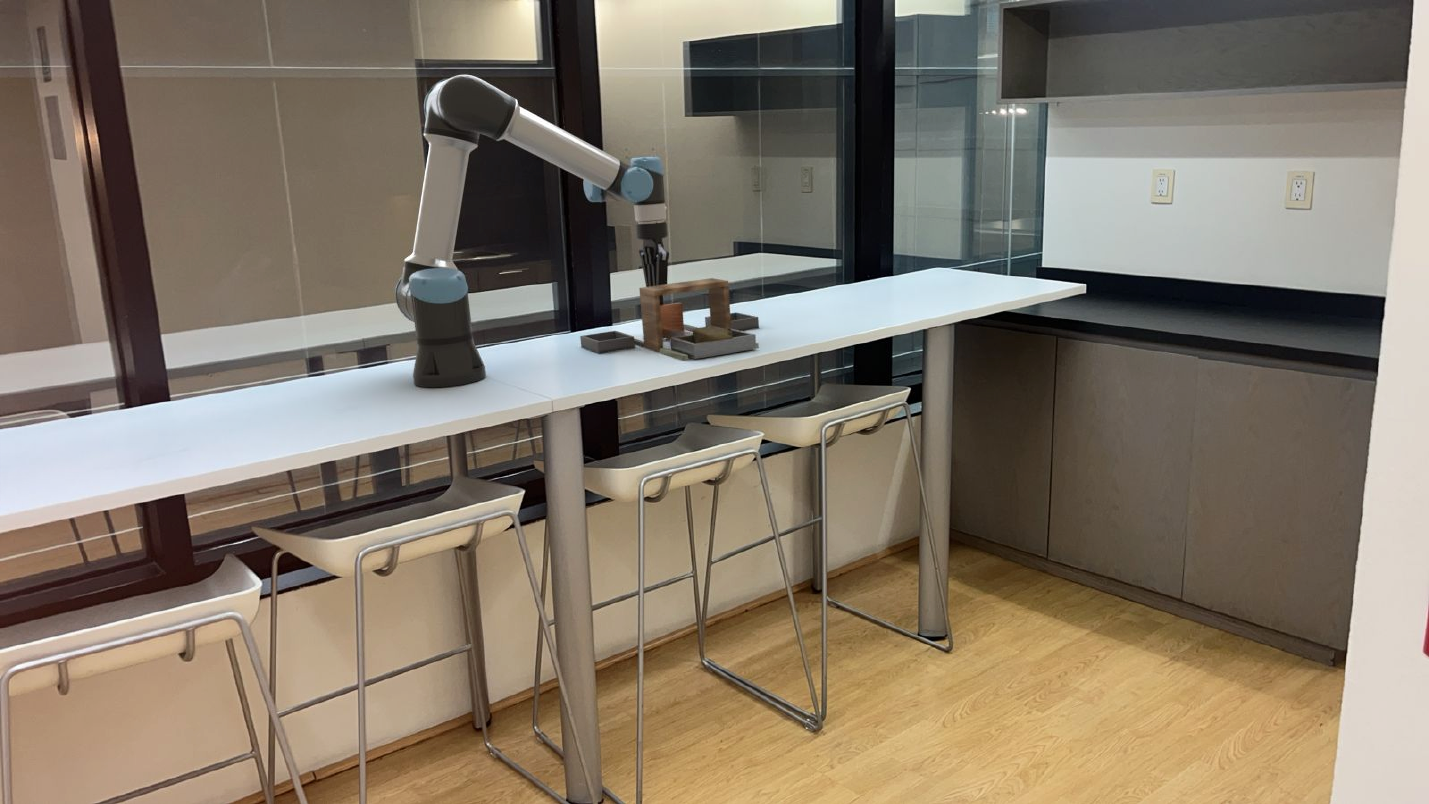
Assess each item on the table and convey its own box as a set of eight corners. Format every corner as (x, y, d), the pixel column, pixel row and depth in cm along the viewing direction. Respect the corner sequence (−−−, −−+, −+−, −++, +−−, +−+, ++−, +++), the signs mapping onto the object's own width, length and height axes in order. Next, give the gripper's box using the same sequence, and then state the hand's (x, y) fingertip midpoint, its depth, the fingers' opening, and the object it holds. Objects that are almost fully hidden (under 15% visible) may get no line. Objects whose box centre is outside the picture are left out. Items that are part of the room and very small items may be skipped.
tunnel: (683, 360, 232) (678, 296, 228) (616, 338, 264) (611, 282, 260) (758, 347, 240) (755, 285, 237) (685, 328, 272) (681, 273, 269)
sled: (694, 359, 231) (691, 322, 229) (638, 341, 256) (636, 308, 254) (756, 348, 238) (754, 313, 236) (695, 332, 263) (693, 300, 261)
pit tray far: (726, 333, 261) (726, 322, 260) (705, 327, 270) (704, 317, 270) (758, 328, 265) (758, 317, 264) (737, 323, 275) (736, 312, 274)
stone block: (714, 345, 245) (713, 324, 244) (736, 353, 235) (734, 331, 234) (691, 348, 243) (690, 327, 242) (712, 356, 233) (711, 334, 232)
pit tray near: (598, 353, 246) (597, 342, 245) (581, 347, 255) (580, 335, 255) (634, 348, 250) (633, 336, 249) (616, 341, 259) (615, 330, 259)
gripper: (676, 221, 253) (683, 318, 259) (654, 219, 264) (661, 313, 270) (647, 224, 250) (656, 323, 255) (626, 222, 261) (634, 316, 267)
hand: (659, 317), depth 263 cm, fingers closed
